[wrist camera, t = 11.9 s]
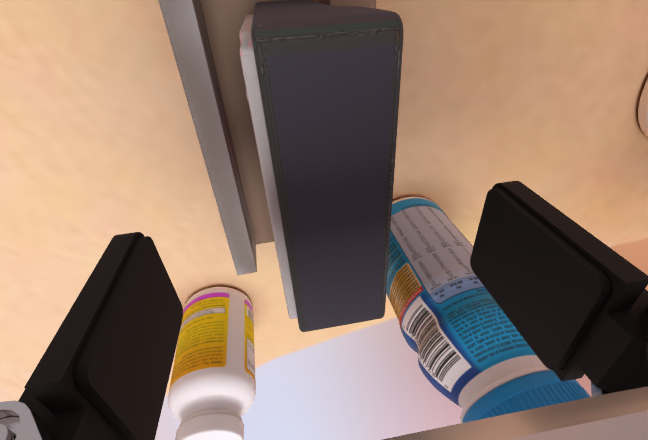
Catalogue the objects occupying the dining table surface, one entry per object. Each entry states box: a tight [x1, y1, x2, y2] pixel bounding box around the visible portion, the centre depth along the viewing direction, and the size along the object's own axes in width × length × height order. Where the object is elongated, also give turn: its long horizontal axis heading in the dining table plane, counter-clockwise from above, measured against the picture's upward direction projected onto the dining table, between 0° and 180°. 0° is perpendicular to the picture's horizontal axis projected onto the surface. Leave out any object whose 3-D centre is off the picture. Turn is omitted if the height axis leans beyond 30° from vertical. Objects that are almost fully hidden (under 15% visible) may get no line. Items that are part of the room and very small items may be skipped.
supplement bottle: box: [168, 287, 256, 440], centre depth 29 cm, size 7×7×13 cm
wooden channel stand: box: [159, 0, 376, 275], centre depth 20 cm, size 10×24×8 cm, turn 3°
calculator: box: [239, 0, 403, 332], centre depth 17 cm, size 11×4×15 cm, turn 3°
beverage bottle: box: [386, 197, 590, 423], centre depth 25 cm, size 8×8×20 cm
